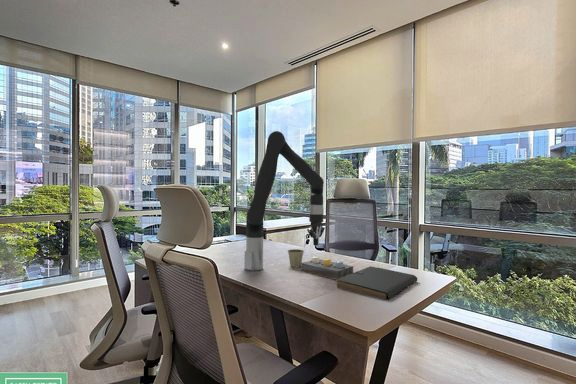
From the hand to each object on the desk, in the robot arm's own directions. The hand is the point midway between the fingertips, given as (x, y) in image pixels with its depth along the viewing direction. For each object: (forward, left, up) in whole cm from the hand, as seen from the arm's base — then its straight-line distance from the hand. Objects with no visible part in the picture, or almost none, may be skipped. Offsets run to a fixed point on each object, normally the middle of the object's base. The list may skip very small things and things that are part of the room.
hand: (315, 245), depth 162 cm
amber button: (0, -7, -12) cm, 14 cm away
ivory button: (0, 0, -12) cm, 12 cm away
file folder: (0, -36, -14) cm, 39 cm away
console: (0, -7, -13) cm, 15 cm away
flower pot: (-2, +13, -13) cm, 18 cm away
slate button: (0, -15, -12) cm, 19 cm away
